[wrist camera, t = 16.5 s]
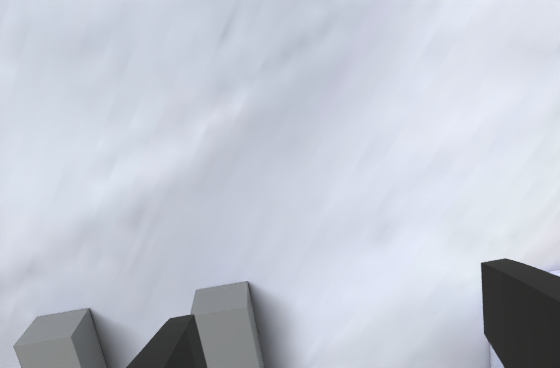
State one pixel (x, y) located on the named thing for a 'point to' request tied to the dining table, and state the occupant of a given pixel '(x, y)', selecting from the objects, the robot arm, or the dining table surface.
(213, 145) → the dining table surface
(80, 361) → the grey bars
